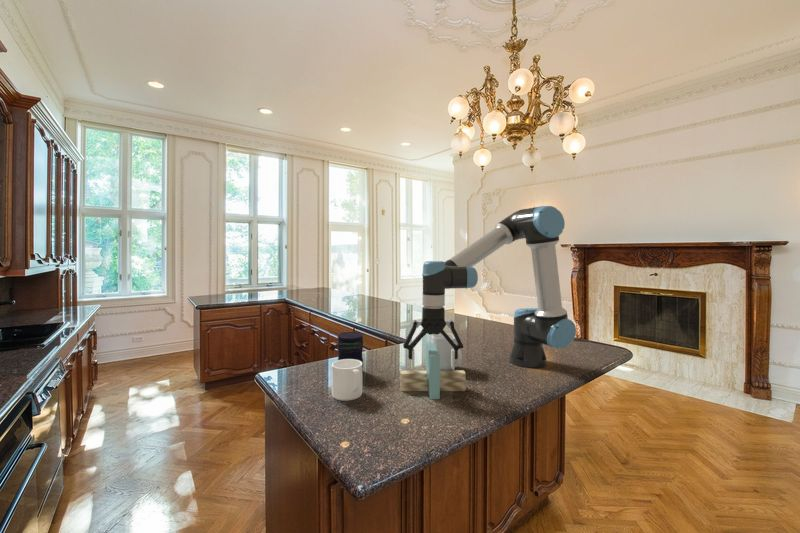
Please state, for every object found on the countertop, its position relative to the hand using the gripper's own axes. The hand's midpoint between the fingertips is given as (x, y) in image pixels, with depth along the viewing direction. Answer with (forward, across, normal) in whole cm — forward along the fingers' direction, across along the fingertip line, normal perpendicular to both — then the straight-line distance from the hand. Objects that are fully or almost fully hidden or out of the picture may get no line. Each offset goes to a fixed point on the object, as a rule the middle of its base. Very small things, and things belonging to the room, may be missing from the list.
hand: (432, 368), depth 120 cm
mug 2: (+7, -8, -21) cm, 24 cm away
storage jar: (+7, +30, -16) cm, 35 cm away
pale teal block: (+7, 0, 0) cm, 7 cm away
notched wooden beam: (+7, 0, 0) cm, 7 cm away
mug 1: (+8, +28, +5) cm, 29 cm away
